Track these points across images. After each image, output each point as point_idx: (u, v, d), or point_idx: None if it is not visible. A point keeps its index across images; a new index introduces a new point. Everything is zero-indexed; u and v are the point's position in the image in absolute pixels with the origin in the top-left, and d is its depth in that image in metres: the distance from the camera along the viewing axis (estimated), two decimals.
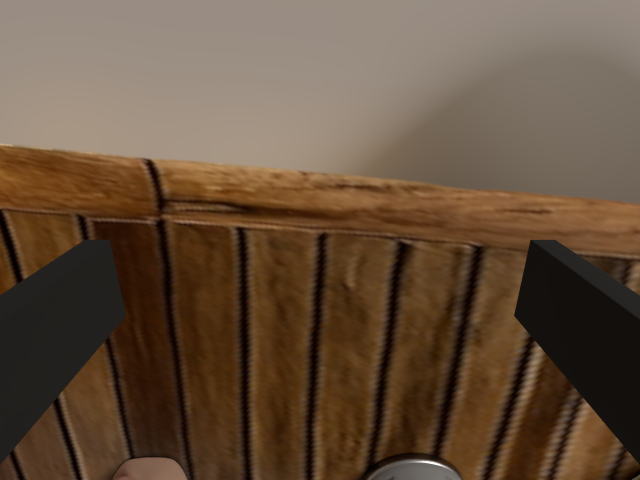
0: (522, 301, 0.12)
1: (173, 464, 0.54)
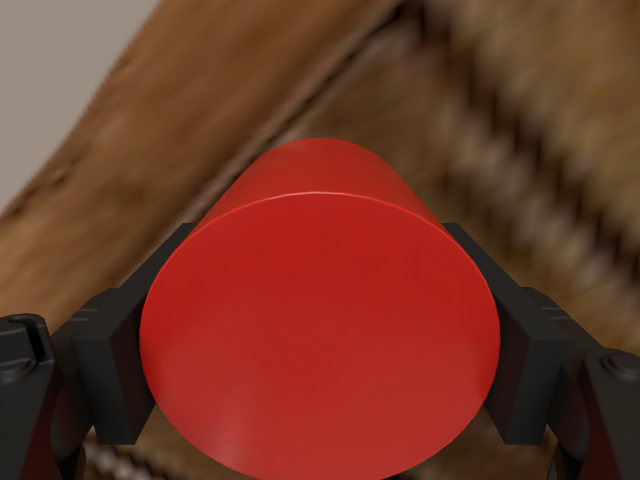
0: None
1: None
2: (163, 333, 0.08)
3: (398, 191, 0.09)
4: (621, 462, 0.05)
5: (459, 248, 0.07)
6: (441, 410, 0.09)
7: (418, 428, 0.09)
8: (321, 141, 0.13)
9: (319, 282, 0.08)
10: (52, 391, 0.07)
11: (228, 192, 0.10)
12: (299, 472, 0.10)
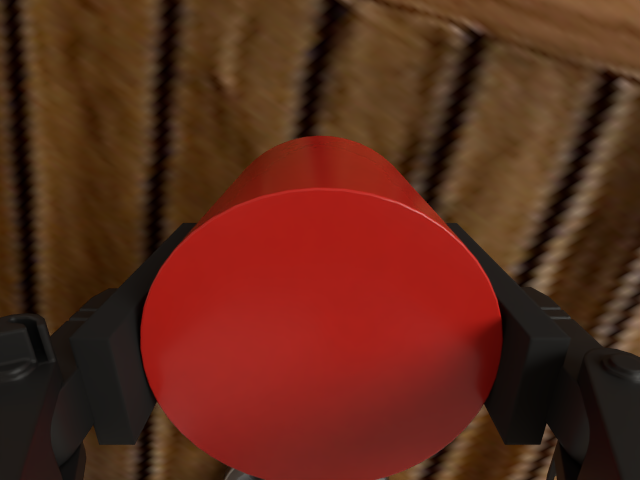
0: None
1: None
2: (164, 331, 0.08)
3: (400, 188, 0.09)
4: (621, 462, 0.05)
5: (462, 245, 0.07)
6: (443, 408, 0.09)
7: (420, 426, 0.09)
8: (322, 139, 0.13)
9: (321, 279, 0.08)
10: (52, 391, 0.07)
11: (229, 190, 0.10)
12: (300, 471, 0.10)
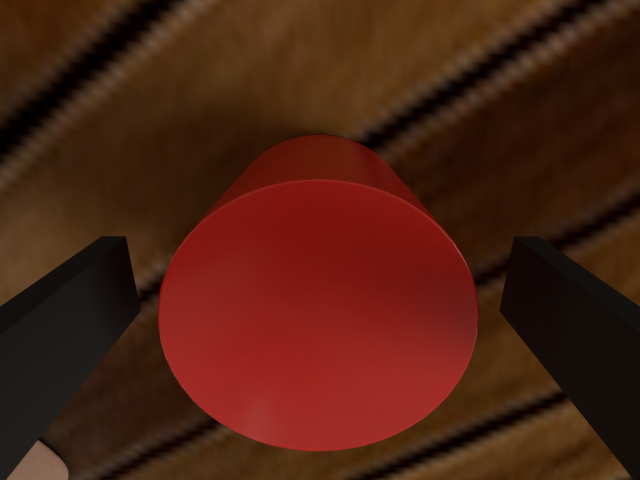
0: (506, 297, 0.13)
1: None
2: (179, 306, 0.09)
3: (388, 181, 0.10)
4: None
5: (440, 229, 0.09)
6: (427, 377, 0.10)
7: (406, 394, 0.10)
8: (320, 138, 0.14)
9: (317, 260, 0.09)
10: None
11: (235, 183, 0.11)
12: (300, 436, 0.11)
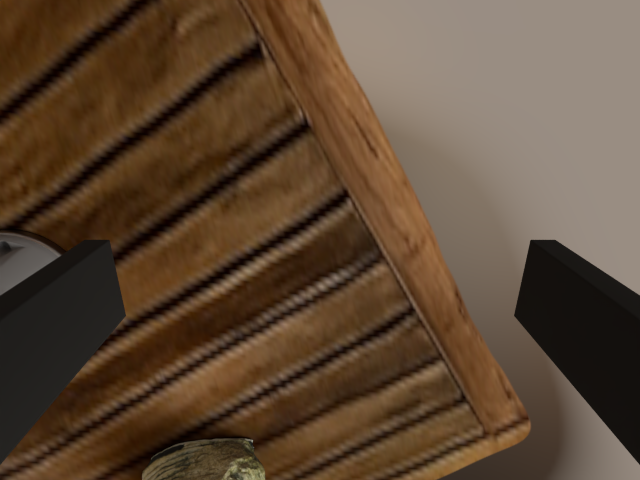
0: (522, 301, 0.12)
1: None
2: None
3: None
4: None
5: None
6: None
7: None
8: None
9: None
10: None
11: None
12: None
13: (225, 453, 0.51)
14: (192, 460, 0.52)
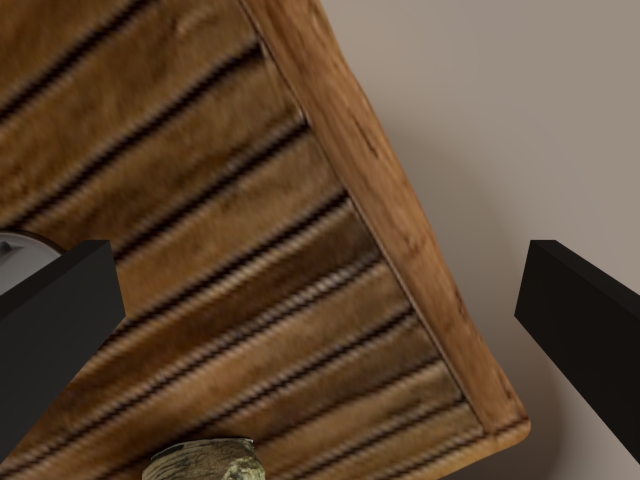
0: (522, 301, 0.12)
1: None
2: None
3: None
4: None
5: None
6: None
7: None
8: None
9: None
10: None
11: None
12: None
13: (225, 453, 0.51)
14: (192, 460, 0.52)
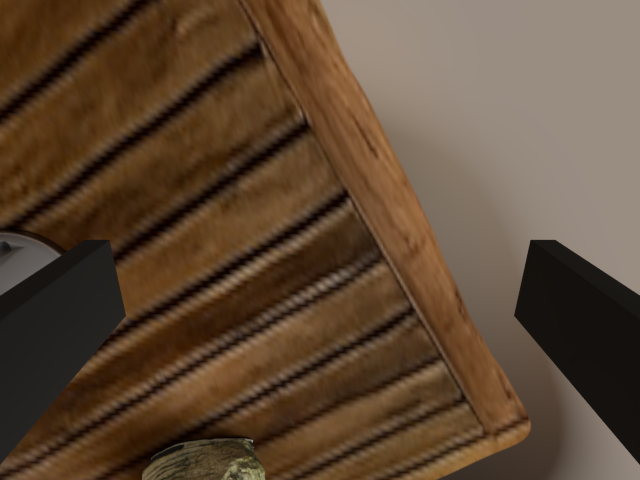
0: (522, 301, 0.12)
1: None
2: None
3: None
4: None
5: None
6: None
7: None
8: None
9: None
10: None
11: None
12: None
13: (225, 453, 0.51)
14: (192, 460, 0.52)
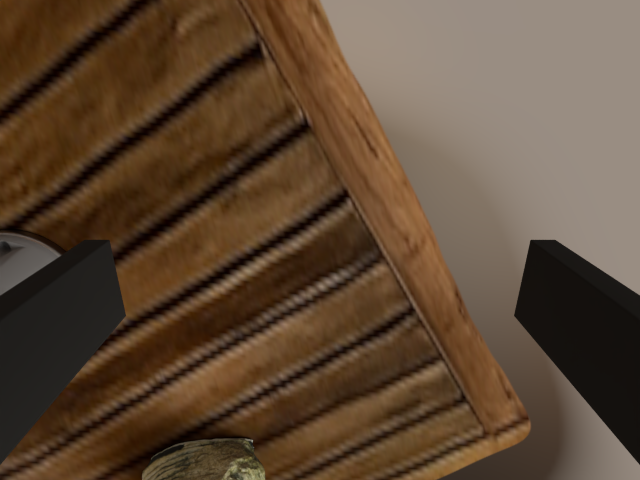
0: (522, 301, 0.12)
1: None
2: None
3: None
4: None
5: None
6: None
7: None
8: None
9: None
10: None
11: None
12: None
13: (225, 453, 0.51)
14: (192, 460, 0.52)
